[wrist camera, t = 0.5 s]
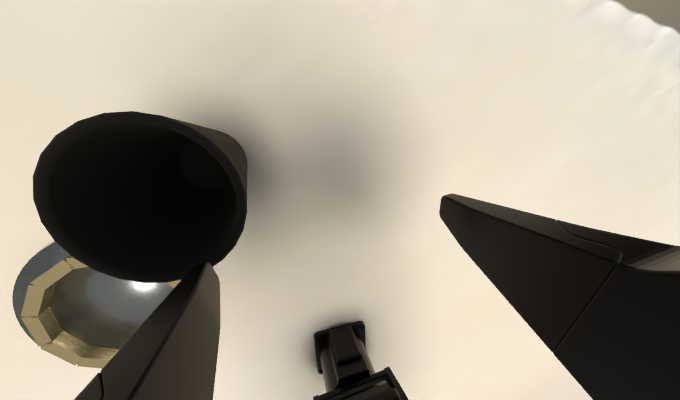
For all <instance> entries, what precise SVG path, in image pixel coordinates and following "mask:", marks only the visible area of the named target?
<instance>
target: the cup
mask: <svg viewBox="0 0 680 400" xmlns="http://www.w3.org/2000/svg"><path fill="white" fill-rule="evenodd" d="M33 200H34V202H35V205H36V208H37V211H38V214H39V217H40V219H41V222H42V223H43V225H44V226H45V228H46V229H47V231H48V232H49V233H50V235H51V236H52V238H53V239H54V241H55V242H56V243H57V244H58V245H60V246H61V247H62V248H63V249H64V250H65V251H66V252H68V253H69V254H70V255H71V256H72V257H73V258H74V259H76V260H78V261H80V262H81V263H83V264H85V265H87V266H88V267H90V268H92V269H94V270H95V271H98V272H100V273H103V274H106V275H109V276H112V277H115V278H118V279H122V280H128V281H134V282H140V283H167V282H172V281H177V280H182V279H183V278H184V276H185V275H186V274H187V273H188V272H189V271H190V270H191V269H192V268H193V266H195V265H197V264H200V263H204V262H209V263H210V264H211V266H212V267H213V266H214V265H216V264H217V263H219V262H220V261H222V260H223V259H224V258H225V257H226V256H227V254H228V253H229V252H230V251H231V250H232V249H233V248H234V247H235V245H236V243H237V241H238V239H239V237H240V235H241V233H242V231H243V229H244V224H245V219H246V214H247V159H246V155H245V152H244V151H243V149H242V147H241V146H240V144H239V143H238V142H237V141H236V140H235V139H233V138H232V137H230V136H229V135H227V134H225V133H222V132H220V131H216V130H213V129H209V128H205V127H201V126H198V125H194V124H190V123H186V122H183V121H179V120H175V119H171V118H168V117H164V116H160V115H153V114H147V113H140V112H133V111H130V112H114V113H103V114H100V115H96V116H93V117H90V118H87V119H83V120H80V121H77V122H76V123H74V124H73V125H71V126H70V127H68V128H67V129H65V130H63V131H62V132H60V133H59V134H57V135H56V136H55V137H54V138H53V140H52V141H51V142H50V143H49V144H48V146H47V147H46V148H45V149H44V151H43V152H42V153H41V155H40V157H39V160H38V163H37V166H36V169H35V172H34V175H33Z"/></svg>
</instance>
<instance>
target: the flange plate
mask: <svg viewBox="0 0 680 400" xmlns="http://www.w3.org/2000/svg"><path fill="white" fill-rule="evenodd" d="M180 281H181V280H177V281H172V282H167V283H140V282H134V281H128V280H122V279H118V278H115V277H112V276H109V275H106V274H103V273H100V272H98V271H95V270H94V269H92V268H90V267H88V266H87V265H85V264H83V263H81V262H80V261H78V260H76V259H74V258H73V257H72V256H71V255H70V254H69V253H68V252H66V251H65V250H64V249H63V248H62V247H61V246H60V245H58V244H57V243H56V242H54V243H53V244H51V245H49V246H48V247H46V248H44V249H43V250H41V251H40V252H38V253H37V254H36V255H35V256H34V257H32V258H31V259H30V260H29V261H28V263H27V264H26V265H25V266H24V267H23V269H22V270H21V272H20V274H19V275H18V277H17V280H16V283H15V285H14V290H13V307H14V311H15V314H16V317H17V319H18V321H19V323H20V325H21V327H22V328H23V329H24V331H25V332H26V333H27V335H28V336H29V337H30V338H31V339H32V340H33V341H34V342H35V343H37V345H38V346H41V349H43V350H45V351H47V352H49V353H51V354H53V355H55V356H57V357H59V358H61V359H63V360H65V361H67V362H69V363H71V364H73V365H76V364H78V366H83V367H94V368H103V367H104V366H105V365H106V364H107V363H108V362H109V360H110V359H111V358H112V357H113V356H114V355H115V354H116V353H117V352H118V350H119V349H120V348H121V347H122V346H123V345H124V344H125V343H126V341H127V340H128V339H129V338H130V337H131V336H132V335H133V334H134V332H135V331H136V330H137V329H138V328H139V327H140V326H141V325H142V324H143V322H144V321H145V320H146V319H147V318H148V317H149V316H150V315H151V313H152V312H153V311H154V310H155V309H156V308H157V307H158V306H159V304H160V303H161V302H162V301H163V300H164V299H165V298H166V297H167V296H168V294H169V293H170V292H171V291H172V290H173V289H174V288H175V287H176V285H177V284H178V283H179V282H180Z"/></svg>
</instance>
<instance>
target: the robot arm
mask: <svg viewBox="0 0 680 400" xmlns="http://www.w3.org/2000/svg"><path fill="white" fill-rule="evenodd" d="M439 213H440V217H441V219H442V220H443V222H444V223H445V225H446V226H447V227H448V229H449V230H450V232H451V233H452V235H453V236H454V237H455V239H456V240H457V242H458V243H459V244H460V246H461V247H462V248H463V250H464V251H465V252H466V253H467V254H468V255H469V257H470V258H471V259H472V260H473V261H474V262H475V263H476V265H477V266H478V267H479V268H480V269H481V270H482V272H483V273H484V274H485V275H486V276H487V277H488V279H489V280H490V281H491V282H492V283H493V284H494V285H495V287H496V288H497V289H498V290H499V291H500V292H501V294H502V295H503V296H504V297H505V298H506V299H507V300H508V302H509V303H510V304H511V305H512V306H513V307H514V309H515V310H516V311H517V312H518V313H519V314H520V315H521V317H522V318H523V319H524V320H525V321H526V322H527V324H528V325H529V326H530V327H531V328H532V329H533V331H534V332H535V333H536V334H537V335H538V336H539V337H540V339H541V340H542V341H543V342H544V343H545V344H546V346H547V347H548V348H549V349H550V350H551V351H552V352H553V354H554V355H555V356H556V357H557V358H558V360H559V361H560V362H561V363H562V364H563V365H564V367H565V368H566V369H567V370H568V371H569V372H570V373H571V375H572V376H573V377H574V378H575V379H576V380H577V382H578V383H579V384H580V385H581V386H582V387H583V389H584V390H585V391H586V392H587V393H588V394H589V395H590V397H591V398H592V399H593V400H680V246H674V245H669V244H664V243H659V242H654V241H649V240H644V239H640V238H635V237H630V236H625V235H620V234H616V233H611V232H606V231H602V230H597V229H592V228H588V227H584V226H580V225H576V224H571V223H567V222H564V221H560V220H557V221H556V220H555V219H551V218H548V217H544V216H540V215H536V214H532V213H528V212H524V211H520V210H516V209H512V208H508V207H504V206H500V205H496V204H492V203H488V202H484V201H480V200H476V199H472V198H468V197H464V196H460V195H456V194H448V195H444V196H443V197H442V198H441V204H440V212H439ZM219 335H220V282H219V278H218V276H217V274H216V273H215V271H214V269H213V267H212V266H211V264H210V263H209V262H204V263H200V264H197V265H195V266H193V268H192V269H191V270H190V271H189V272H188V273H187V274H186V275H185V276H184V278H183V279H182V280H181V281H180V282H179V283H178V284H177V285H176V287H175V288H174V289H173V290H172V291H171V292H170V293H169V294H168V296H167V297H166V298H165V299H164V300H163V301H162V302H161V303H160V304H159V306H158V307H157V308H156V309H155V310H154V311H153V312H152V313H151V315H150V316H149V317H148V318H147V319H146V320H145V321H144V322H143V324H142V325H141V326H140V327H139V328H138V329H137V330H136V331H135V332H134V334H133V335H132V336H131V337H130V338H129V339H128V340H127V341H126V343H125V344H124V345H123V346H122V347H121V348H120V349H119V350H118V352H117V353H116V354H115V355H114V356H113V357H112V358H111V359H110V360H109V362H108V363H107V364H106V365H105V366H104V367H103V368H102V370H101V373H98V374H97V375H96V376H95V377H94V378H93V379H92V381H91V382H90V383H89V384H88V385H87V386H86V387H85V388H84V389H83V391H82V392H81V393H80V394H79V395H78V396H77V397H76V398H75V399H74V400H213V391H214V382H215V372H216V363H217V354H218V344H219ZM317 337H318V338H317ZM314 342H315V350H316V358H317V366H318V372H319V374H323V375H324V380H325V385H326V390H327V393H325V394H322V395H320V396H318V395H317V396H314V397H313V400H408V398H407V396H406V395H405V393H404V391H403V389H402V388H401V386H400V384H399V383H398V381H397V379H396V378H395V376H394V374H393V373H392V371H391V369H390V368H389V367H387V368H384V370H382V371H380V372H377V373H375V371H374V369H373V366H372V364H371V361H370V359H369V356H368V354H367V352H366V348H365V325H364V323H363V322H357V323H353V324H349V325H345V326H342V327H338V328H334V329H330V330H326V331H323V332H319V333H316V334H315V335H314Z"/></svg>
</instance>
